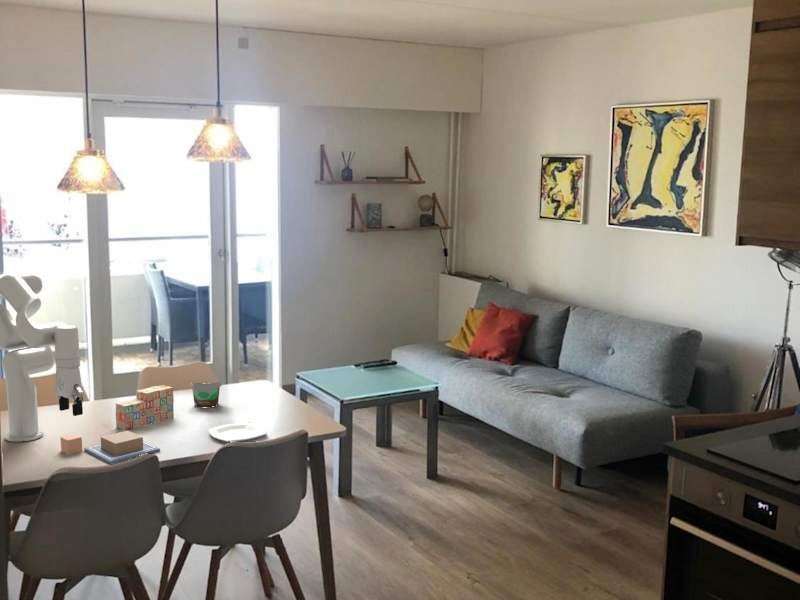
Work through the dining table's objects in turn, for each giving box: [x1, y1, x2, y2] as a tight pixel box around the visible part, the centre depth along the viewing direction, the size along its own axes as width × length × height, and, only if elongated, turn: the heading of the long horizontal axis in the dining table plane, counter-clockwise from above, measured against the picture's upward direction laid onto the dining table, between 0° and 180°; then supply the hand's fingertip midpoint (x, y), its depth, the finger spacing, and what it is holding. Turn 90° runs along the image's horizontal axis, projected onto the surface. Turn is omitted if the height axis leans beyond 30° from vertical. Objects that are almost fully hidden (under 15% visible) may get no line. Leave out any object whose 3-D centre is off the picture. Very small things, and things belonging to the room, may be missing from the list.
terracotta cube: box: [60, 433, 83, 455], centre depth 286 cm, size 5×5×5 cm
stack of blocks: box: [115, 384, 175, 431], centre depth 318 cm, size 21×6×12 cm, turn 142°
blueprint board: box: [83, 430, 161, 465], centre depth 286 cm, size 18×18×5 cm
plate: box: [208, 422, 268, 443], centre depth 305 cm, size 19×19×2 cm
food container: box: [189, 380, 222, 408], centre depth 340 cm, size 12×6×10 cm, turn 104°
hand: (71, 412), depth 284 cm, fingers open, 9 cm apart
